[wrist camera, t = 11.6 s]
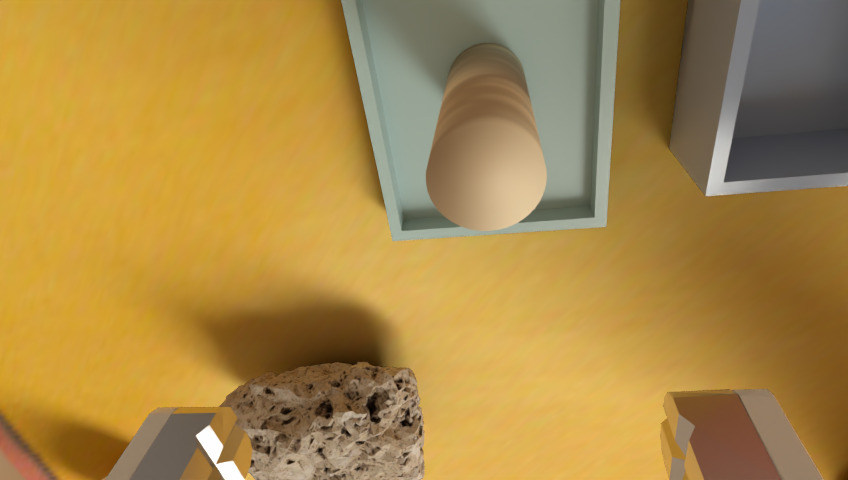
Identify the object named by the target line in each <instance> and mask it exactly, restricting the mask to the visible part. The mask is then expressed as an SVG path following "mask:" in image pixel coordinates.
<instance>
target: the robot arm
mask: <svg viewBox="0 0 848 480" xmlns="http://www.w3.org/2000/svg"><path fill="white" fill-rule="evenodd" d="M663 407H664V410H665V413H666V416H667V419H666V420H665V421H663V422H662V423H661V434H660V437H661V448H662V454H663V459H664V463H665V467H666V470H667V473H668V477H669V480H824V478H823V477H822V475H821V473H820V472H819V470H818V468H817V466H816V465H815V463H814V461H813V460H812V458H811V456H810V455H809V453H808V451H807V450H806V448H805V446H804V445H803V443H802V441H801V440H800V438H799V436H798V435H797V433H796V431H795V430H794V428H793V426H792V425H791V423H790V421H789V420H788V418H787V416H786V415H785V413H784V411H783V410H782V408H781V406H780V405H779V403H778V401H777V400H776V398H775V396H774V395H773V394H772V393H771V392H770V391H769V390H767V389H745V390H729V389H725V390H703V391H681V392H667V394H666V395H665V398H664V405H663ZM237 418H238V417H237V416H236V415H235V413H234V412H233V410H232V409H231V407H165V408H157V409H156V410H154V411H153V412H151V413H150V414H149V415H148V417H147V418H146V420H145V421H144V423H143V424H142V426H141V427H140V429H139V430H138V432H137V433H136V435H135V436H134V437H133V439H132V440H131V442H130V443H129V445H128V446H127V448H126V449H125V451H124V452H123V454H122V455H121V457H120V458H119V460H118V461H117V463H116V464H115V466H114V467H113V468H112V470H111V471H110V473H109V474H108V476H107V477H106V479H105V480H245V478H246V475H247V473H248V470H249V468H250V465H251V457H252V446H251V441H250V438H249V436H248V435H247V433H246V431H244V430H242V429H241V428H239V427H238V426H236V425H235V423H236V420H237Z"/></svg>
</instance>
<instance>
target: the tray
mask: <svg viewBox="0 0 848 480" xmlns="http://www.w3.org/2000/svg"><path fill="white" fill-rule="evenodd" d="M341 2H342V7H343V12H344V16H345V21H346V26H347V30H348V35H349V40H350V44H351V49H352V54H353V58H354V63H355V68H356V72H357V77H358V82H359V86H360V91H361V96H362V100H363V105H364V110H365V114H366V119H367V124H368V128H369V133H370V137H371V142H372V147H373V151H374V156H375V161H376V165H377V170H378V175H379V179H380V184H381V189H382V193H383V198H384V203H385V207H386V212H387V217H388V221H389V226H390V231H391V235H392V240H393V241H402V240H417V239H432V238H447V237H462V236H476V235H491V234H506V233H521V232H536V231H551V230H566V229H581V228H596V227H606V225H607V209H608V192H609V176H610V160H611V144H612V128H613V112H614V96H615V80H616V64H617V47H618V31H619V15H620V0H341ZM481 43H494V44H499V45H501V46H504V47H506V48H508V49H509V50H510V51H512V52H513V53H514V54H515V55H516V56H517V58H518V59H519V61H520V62H521V64H522V67H523V69H524V74H525V78H526V82H527V87H528V91H529V95H530V100H531V104H532V108H533V113H534V117H535V121H536V126H537V130H538V134H539V139H540V143H541V148H542V152H543V156H544V161H545V165H546V171H547V181H546V187H545V191H544V193H543V196H542V198H541V200H540V202H539V203H538V205H537V206H536V208H535V209H534V210H533V211H532V212H531V213H530V214H529V215H528V216H527V217H525V218H524V219H523V220H521V221H520V222H518V223H516V224H514V225H512V226H509V227H507V228H503V229H499V230H493V231H478V230H472V229H467V228H464V227H461V226H459V225H457V224H455V223H453V222H451V221H450V220H448V219H447V218H446V217H444V216H443V215H442V214H441V213H440V212H439V211H438V210H437V208H436V207H435V206H434V204H433V202H432V201H431V199H430V196H429V194H428V190H427V186H426V169H427V165H428V160H429V156H430V152H431V147H432V143H433V139H434V134H435V130H436V126H437V121H438V117H439V113H440V108H441V104H442V100H443V95H444V91H445V87H446V82H447V78H448V74H449V70H450V68H451V66H452V64H453V62H454V61H455V59H456V58H457V57H458V56H459V55H460V54H461V53H462V52H463V51H464V50H466V49H467V48H469V47H471V46H474V45H477V44H481Z"/></svg>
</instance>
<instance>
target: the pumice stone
mask: <svg viewBox="0 0 848 480" xmlns="http://www.w3.org/2000/svg"><path fill="white" fill-rule="evenodd" d="M419 404H420V398H419V396H418V390H417V381H416V378H415V375H414V373H413V371H412V370H411V369H409V368H396V367H380V366H372V365H370V364H369V363H368V362H358V363H357V364H355V365H351V364H347V363H340V362H336V363H332V364H330V363H327V364H318V365H314V366H305V367H298V368H296V369H294V370H292V371H285V372H283V373H281V374H279V375H276V374H275V373H273V372H272V371H271V372H268V373H265V374H263V375H262V376H260V377H258V378H256V379H251V380H250V381H249V382H247V383H246V384H244V385H241V386H239V387H238V388H237V389H236V390H234V391H233V392H232V393H230V394H229V395H228V396H227V397H226V400H225V401H224V402H223V403H222V404H221V405H220V406H219V407H231V409H232V410H233V412H234V413H235V415H236V416H237V417H238V418H237V420H236V423H235V425H236V426H238V427H239V428H241V429H242V430H244V431H246V433H247V435H248V436H249V438H250V441H251V446H252V457H251V465H250V468H249V470H248V473H250V474H251V475H252V476H253V477H254V479H255V480H421V479H423V477H424V459H423V450H422V447H423V445H424V430H423V425H424V421H423V416H422V411H421V408H420V407H419V406H418V405H419Z"/></svg>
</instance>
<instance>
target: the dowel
mask: <svg viewBox="0 0 848 480" xmlns="http://www.w3.org/2000/svg"><path fill="white" fill-rule="evenodd" d="M546 181H547V171H546V165H545V161H544V156H543V152H542V148H541V143H540V139H539V134H538V130H537V126H536V121H535V117H534V113H533V108H532V104H531V100H530V95H529V91H528V87H527V82H526V78H525V74H524V69H523V67H522V64H521V62H520V61H519V59H518V58H517V56H516V55H515V54H514V53H513V52H512V51H510V50H509V49H508V48H506V47H504V46H501V45H499V44H494V43H481V44H477V45H474V46H471V47H469V48H467V49H466V50H464V51H463V52H462V53H461V54H460V55H459V56H458V57H457V58H456V59H455V61H454V62H453V64H452V66H451V68H450V70H449V74H448V78H447V82H446V87H445V91H444V95H443V100H442V104H441V108H440V113H439V117H438V121H437V126H436V130H435V134H434V139H433V143H432V147H431V152H430V156H429V160H428V165H427V169H426V186H427V190H428V194H429V196H430V199H431V201H432V202H433V204H434V206H435V207H436V208H437V210H438V211H439V212H440V213H441V214H442V215H443V216H444V217H446V218H447V219H448V220H450V221H451V222H453V223H455V224H457V225H459V226H461V227H464V228H467V229H472V230H478V231H493V230H499V229H503V228H507V227H509V226H512V225H514V224H516V223H518V222H520V221H521V220H523V219H524V218H525V217H527V216H528V215H529V214H530V213H531V212H532V211H533V210H534V209H535V208H536V206H537V205H538V203H539V202H540V200H541V198H542V196H543V193H544V191H545V187H546Z"/></svg>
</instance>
